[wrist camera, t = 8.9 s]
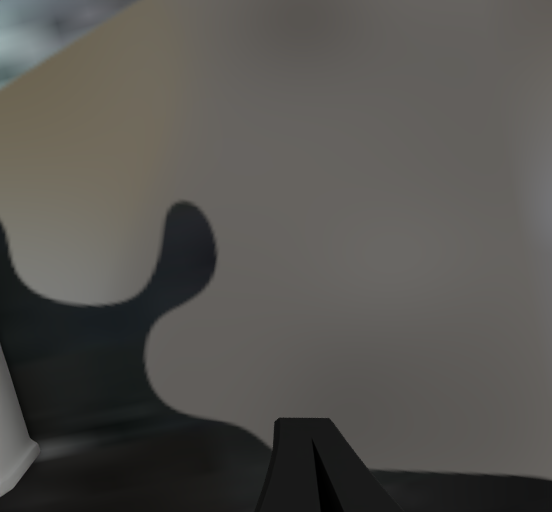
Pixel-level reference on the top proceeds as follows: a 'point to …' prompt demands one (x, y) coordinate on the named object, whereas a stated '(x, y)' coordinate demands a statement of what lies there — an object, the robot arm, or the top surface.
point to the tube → (12, 434)
